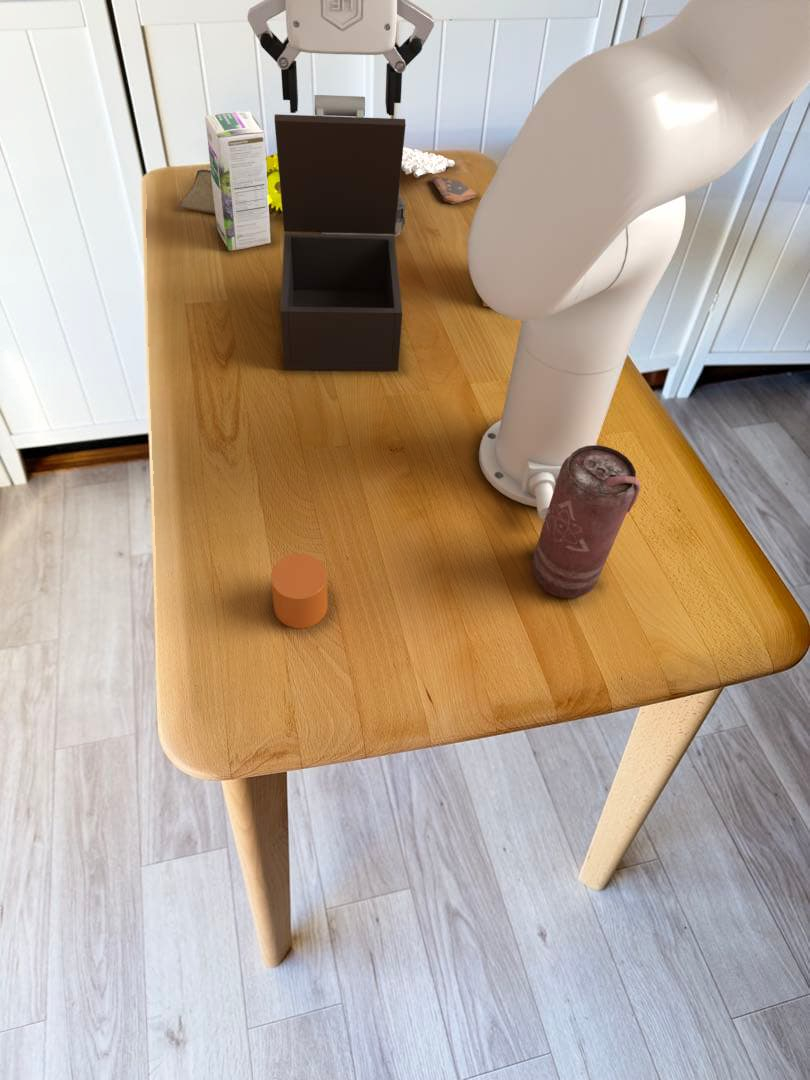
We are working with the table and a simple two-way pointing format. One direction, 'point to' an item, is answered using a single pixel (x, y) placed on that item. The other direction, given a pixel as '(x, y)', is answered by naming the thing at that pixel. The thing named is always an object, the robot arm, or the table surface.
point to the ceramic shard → (200, 194)
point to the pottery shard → (453, 190)
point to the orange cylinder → (299, 590)
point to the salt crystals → (423, 162)
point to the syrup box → (239, 179)
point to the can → (583, 520)
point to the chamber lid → (339, 168)
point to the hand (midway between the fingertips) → (342, 108)
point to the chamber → (340, 302)
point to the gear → (273, 185)
